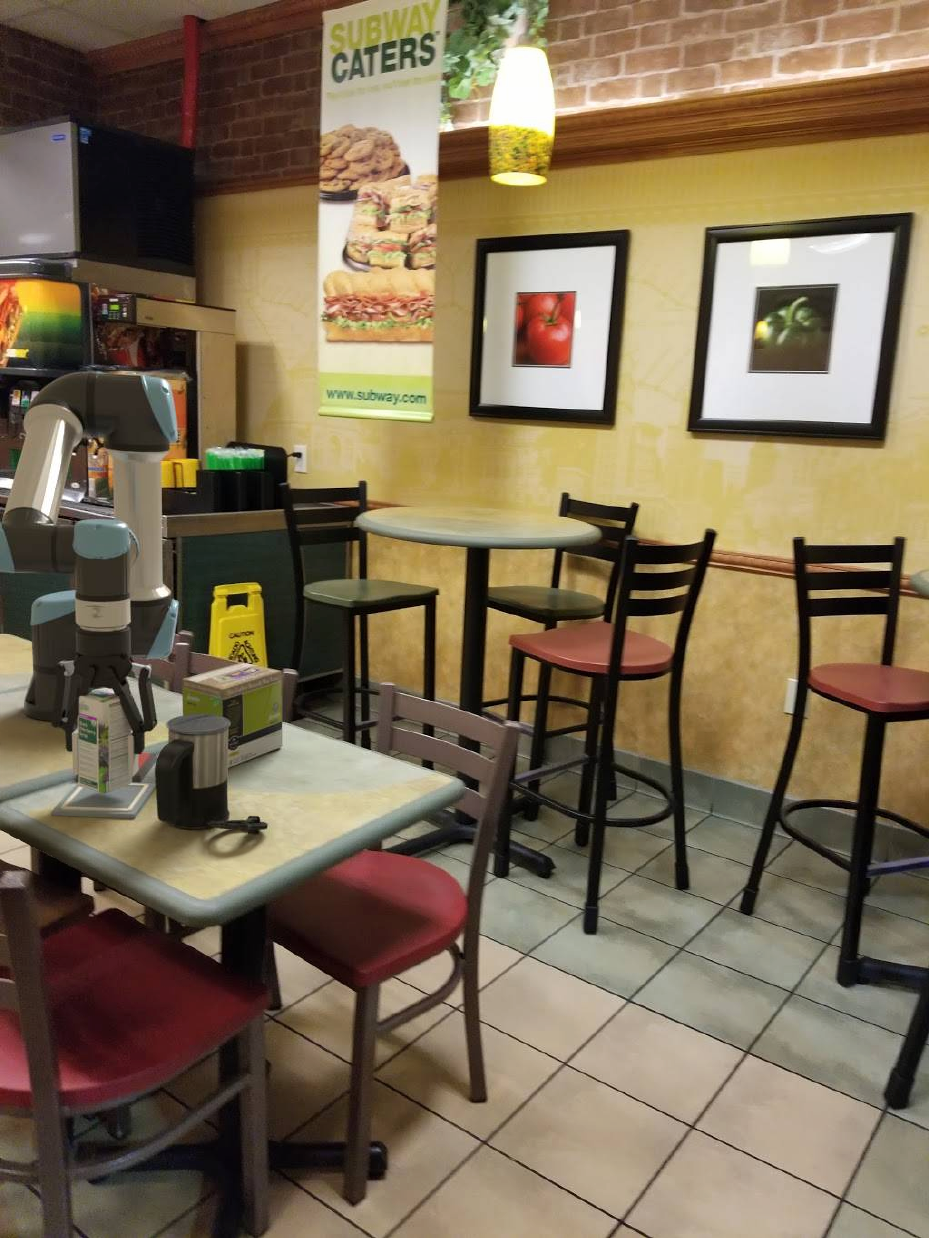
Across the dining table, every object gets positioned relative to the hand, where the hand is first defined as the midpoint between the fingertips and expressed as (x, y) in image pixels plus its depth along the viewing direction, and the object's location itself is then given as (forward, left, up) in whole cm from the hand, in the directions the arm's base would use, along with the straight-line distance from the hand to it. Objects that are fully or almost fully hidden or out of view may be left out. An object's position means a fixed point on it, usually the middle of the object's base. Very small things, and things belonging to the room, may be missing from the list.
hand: (106, 771), depth 141 cm
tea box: (-22, +15, -5) cm, 27 cm away
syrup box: (0, 0, -2) cm, 2 cm away
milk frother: (+7, +18, -5) cm, 20 cm away
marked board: (0, 0, -5) cm, 5 cm away
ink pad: (-12, -2, -5) cm, 13 cm away
